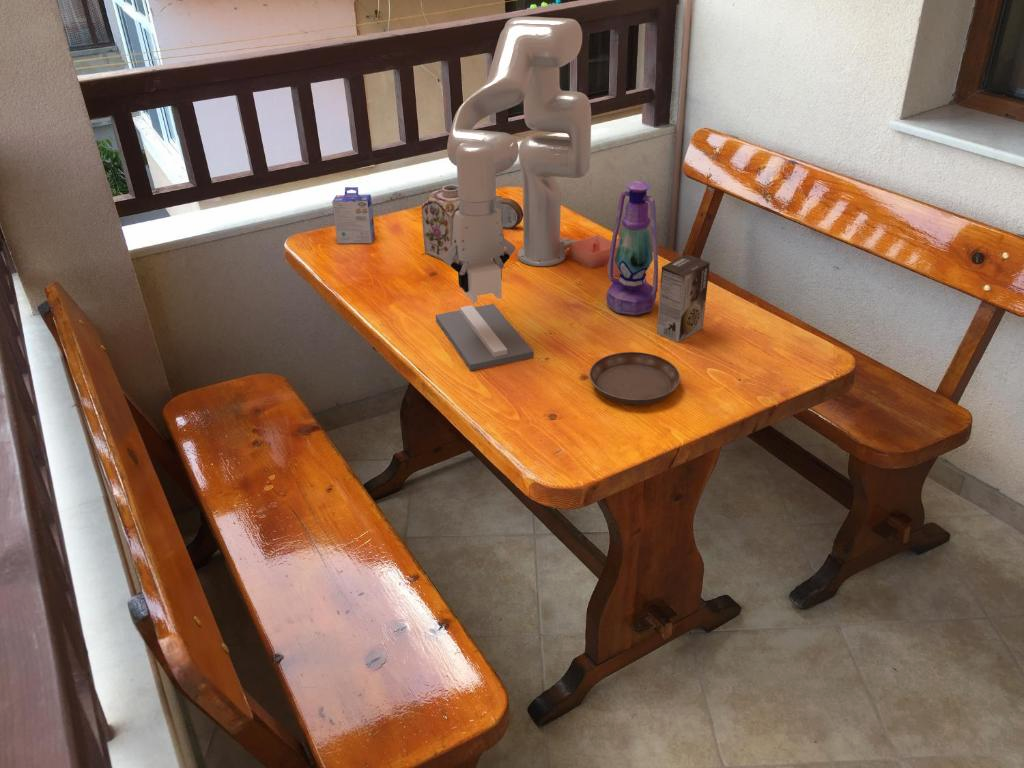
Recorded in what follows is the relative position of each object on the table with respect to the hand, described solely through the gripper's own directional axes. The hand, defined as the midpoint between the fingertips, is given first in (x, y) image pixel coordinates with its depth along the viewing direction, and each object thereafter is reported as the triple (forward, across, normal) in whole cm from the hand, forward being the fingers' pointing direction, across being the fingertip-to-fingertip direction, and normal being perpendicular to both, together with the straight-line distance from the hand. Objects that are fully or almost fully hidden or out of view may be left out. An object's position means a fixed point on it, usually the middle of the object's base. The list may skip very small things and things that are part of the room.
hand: (480, 286), depth 181 cm
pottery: (+13, -42, -24) cm, 51 cm away
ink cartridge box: (+13, +13, -66) cm, 69 cm away
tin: (+13, -26, -60) cm, 67 cm away
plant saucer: (+13, -21, +30) cm, 39 cm away
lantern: (+13, -37, -1) cm, 39 cm away
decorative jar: (+13, -9, -47) cm, 50 cm away
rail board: (+13, 0, 0) cm, 13 cm away
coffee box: (+13, -41, +14) cm, 45 cm away
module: (+2, 0, 0) cm, 2 cm away
